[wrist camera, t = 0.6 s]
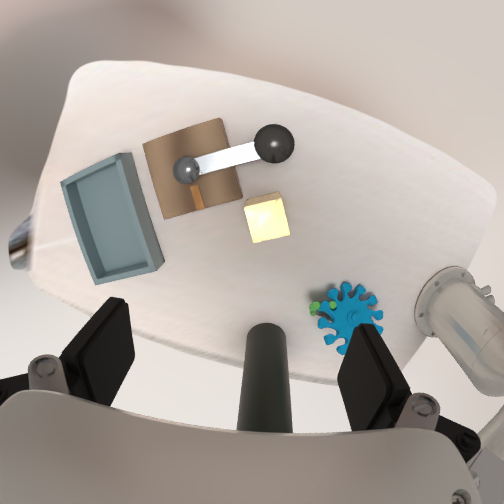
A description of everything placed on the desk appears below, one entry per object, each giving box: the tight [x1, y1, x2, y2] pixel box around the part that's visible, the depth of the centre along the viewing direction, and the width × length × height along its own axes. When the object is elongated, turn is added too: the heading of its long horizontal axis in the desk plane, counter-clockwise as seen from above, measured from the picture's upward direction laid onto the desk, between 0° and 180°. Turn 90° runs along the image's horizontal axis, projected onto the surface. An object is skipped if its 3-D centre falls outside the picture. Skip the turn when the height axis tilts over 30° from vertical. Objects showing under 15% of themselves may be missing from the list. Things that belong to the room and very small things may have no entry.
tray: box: [60, 153, 165, 285], centre depth 35 cm, size 11×16×4 cm
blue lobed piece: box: [309, 283, 384, 355], centre depth 38 cm, size 11×6×10 cm
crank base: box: [143, 118, 243, 220], centre depth 33 cm, size 10×10×2 cm
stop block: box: [244, 192, 290, 243], centre depth 33 cm, size 4×4×6 cm
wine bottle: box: [237, 323, 293, 433], centre depth 27 cm, size 6×6×30 cm
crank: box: [173, 124, 294, 184], centre depth 28 cm, size 13×4×7 cm, turn 104°
